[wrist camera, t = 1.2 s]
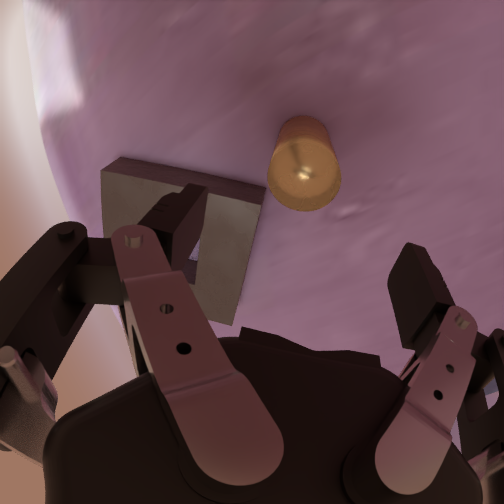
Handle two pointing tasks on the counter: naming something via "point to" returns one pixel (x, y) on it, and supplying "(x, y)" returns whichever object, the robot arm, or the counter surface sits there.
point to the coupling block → (213, 233)
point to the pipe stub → (304, 166)
